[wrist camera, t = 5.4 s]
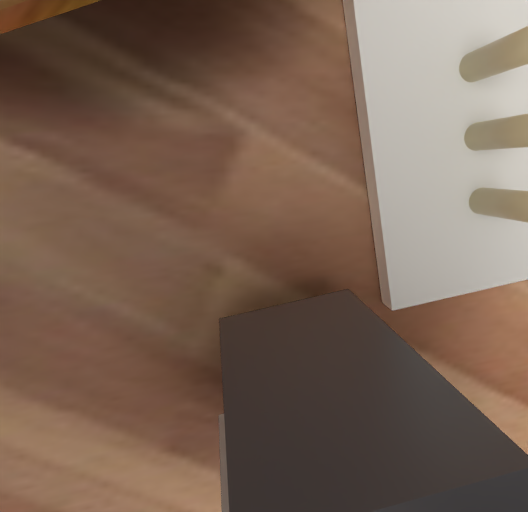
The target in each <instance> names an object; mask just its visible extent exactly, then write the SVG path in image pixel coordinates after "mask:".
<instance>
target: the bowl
mask: <svg viewBox="0 0 528 512" xmlns="http://www.w3.org/2000/svg"><path fill="white" fill-rule="evenodd" d="M98 1H101V0H0V34H2V33H5V32H8V31H11V30H14V29H17V28H20V27H23V26H26V25H29V24H32V23H35V22H38V21H41V20H44V19H47V18H50V17H53V16H56V15H59V14H62V13H65V12H68V11H71V10H74V9H77V8H80V7H83V6H86V5H89V4H92V3H95V2H98Z"/></svg>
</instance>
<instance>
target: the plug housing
mask: <svg viewBox="0 0 528 512" xmlns="http://www.w3.org/2000/svg"><path fill="white" fill-rule="evenodd" d="M219 326H220V345H221V364H222V383H223V402H224V421H225V440H226V459H227V479H228V498H229V512H528V455H527V454H526V453H525V452H524V451H523V450H522V449H521V448H520V447H519V446H517V445H516V444H515V443H514V442H513V441H512V440H511V439H510V438H509V437H508V436H507V435H506V434H505V433H503V432H502V431H501V430H500V429H499V428H498V427H497V426H496V425H495V424H494V423H493V422H492V421H490V420H489V419H488V418H487V417H486V416H485V415H484V414H483V413H482V412H481V411H480V410H479V409H477V408H476V407H475V406H474V405H473V404H472V403H471V402H470V401H469V400H468V399H467V398H466V397H465V396H463V395H462V394H461V393H460V392H459V391H458V390H457V389H456V388H455V387H454V386H453V385H452V384H450V383H449V382H448V381H447V380H446V379H445V378H444V377H443V376H442V375H441V374H440V373H439V372H437V371H436V370H435V369H434V368H433V367H432V366H431V365H430V364H429V363H428V362H427V361H426V360H425V359H423V358H422V357H421V356H420V355H419V354H418V353H417V352H416V351H415V350H414V349H413V348H412V347H410V346H409V345H408V344H407V343H406V342H405V341H404V340H403V339H402V338H401V337H400V336H399V335H397V334H396V333H395V332H394V331H393V330H392V329H391V328H390V327H389V326H388V325H387V324H386V323H385V322H383V321H382V320H381V319H380V318H379V317H378V316H377V315H376V314H375V313H374V312H373V311H372V310H370V309H369V308H368V307H367V306H366V305H365V304H364V303H363V302H362V301H361V300H360V299H359V298H357V297H356V296H355V295H354V294H353V293H352V292H351V291H350V290H349V289H346V290H342V291H337V292H333V293H329V294H324V295H320V296H316V297H311V298H307V299H303V300H298V301H294V302H290V303H285V304H281V305H277V306H272V307H268V308H264V309H259V310H255V311H251V312H246V313H242V314H238V315H233V316H229V317H225V318H220V319H219Z"/></svg>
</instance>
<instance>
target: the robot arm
mask: <svg viewBox="0 0 528 512" xmlns="http://www.w3.org/2000/svg"><path fill="white" fill-rule="evenodd" d="M219 445H220V476H221V508H222V512H229V498H228V479H227V459H226V440H225V421H224V414H220V415H219Z"/></svg>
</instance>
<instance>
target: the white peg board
mask: <svg viewBox="0 0 528 512" xmlns="http://www.w3.org/2000/svg"><path fill="white" fill-rule="evenodd" d="M343 8H344V15H345V23H346V31H347V38H348V46H349V54H350V61H351V69H352V76H353V84H354V92H355V99H356V107H357V115H358V122H359V130H360V137H361V145H362V153H363V160H364V168H365V175H366V183H367V191H368V198H369V206H370V214H371V221H372V229H373V236H374V244H375V252H376V259H377V267H378V275H379V282H380V290H381V297H382V303H383V304H385V305H386V306H387V307H388V308H389V309H391V310H392V311H394V310H398V309H402V308H406V307H411V306H415V305H419V304H424V303H428V302H432V301H437V300H441V299H445V298H450V297H454V296H458V295H463V294H467V293H471V292H476V291H480V290H484V289H489V288H493V287H497V286H502V285H506V284H510V283H515V282H519V281H523V280H528V0H343Z"/></svg>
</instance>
